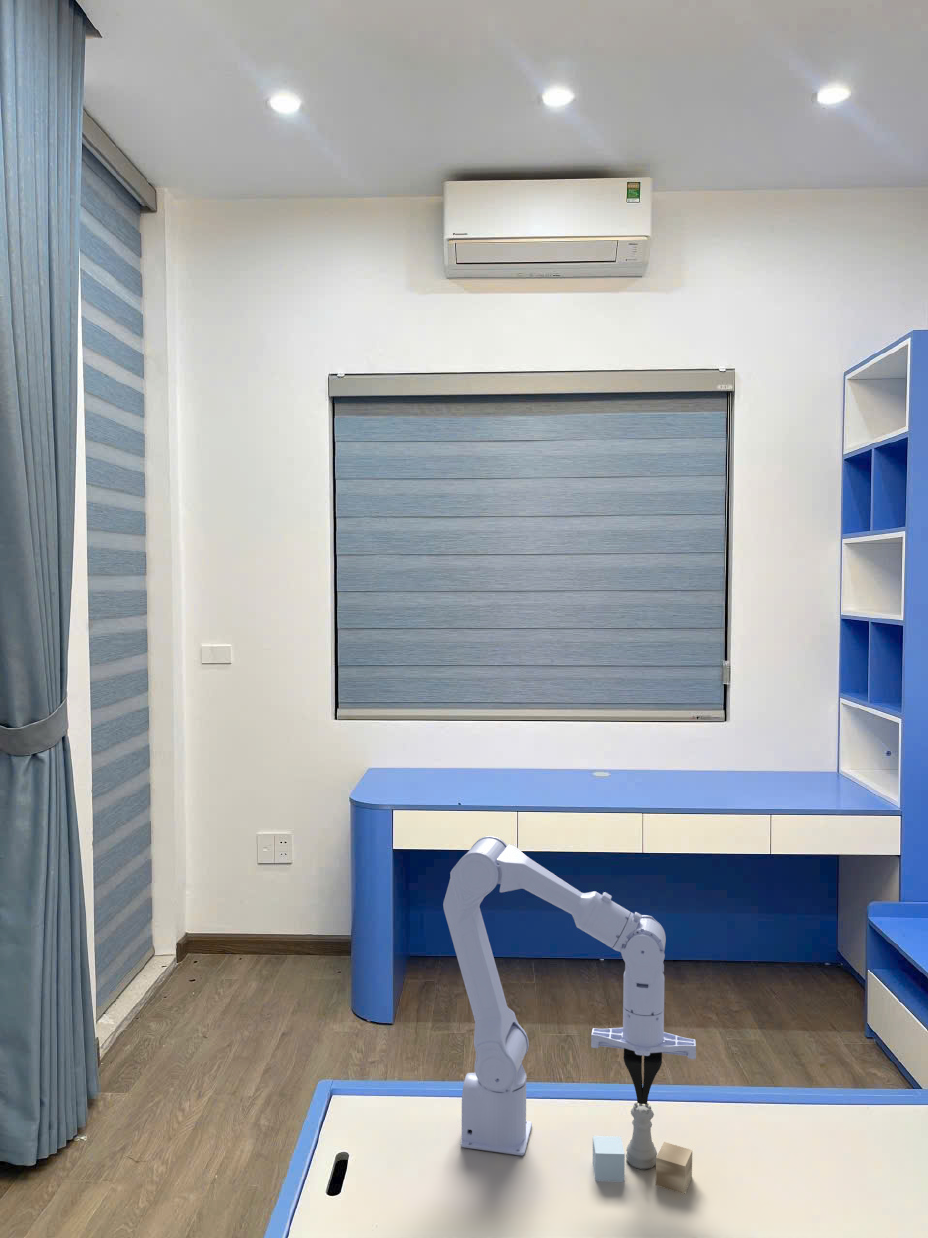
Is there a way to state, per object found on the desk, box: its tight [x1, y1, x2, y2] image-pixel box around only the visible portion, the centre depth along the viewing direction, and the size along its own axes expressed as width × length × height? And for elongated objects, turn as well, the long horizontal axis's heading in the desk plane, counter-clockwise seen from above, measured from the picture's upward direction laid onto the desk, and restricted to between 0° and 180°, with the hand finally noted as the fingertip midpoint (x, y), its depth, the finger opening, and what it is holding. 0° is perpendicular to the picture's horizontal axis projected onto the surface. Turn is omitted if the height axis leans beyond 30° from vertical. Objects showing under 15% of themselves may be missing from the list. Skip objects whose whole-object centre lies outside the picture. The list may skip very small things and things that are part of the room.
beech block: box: [655, 1141, 693, 1195], centre depth 127 cm, size 4×4×4 cm
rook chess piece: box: [625, 1102, 658, 1170], centre depth 131 cm, size 4×4×8 cm
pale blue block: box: [592, 1135, 626, 1183], centre depth 129 cm, size 4×4×4 cm
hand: (642, 1100), depth 131 cm, fingers closed
